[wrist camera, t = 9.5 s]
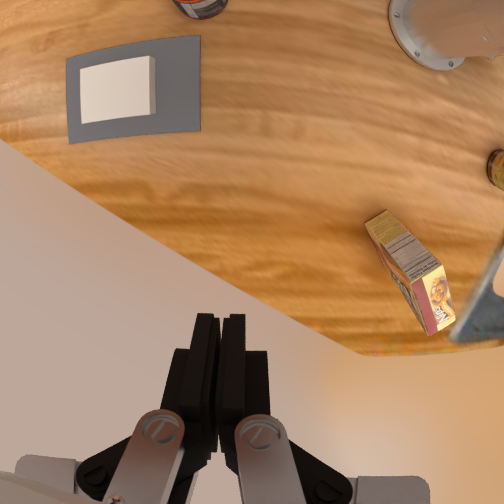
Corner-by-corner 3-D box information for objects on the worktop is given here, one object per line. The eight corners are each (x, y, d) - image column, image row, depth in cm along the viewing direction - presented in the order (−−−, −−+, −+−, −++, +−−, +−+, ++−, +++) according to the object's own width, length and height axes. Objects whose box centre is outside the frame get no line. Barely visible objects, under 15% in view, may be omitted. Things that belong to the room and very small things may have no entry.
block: (149, 55, 28) (80, 69, 28) (149, 114, 31) (81, 123, 31) (155, 58, 30) (89, 70, 30) (156, 113, 33) (90, 122, 33)
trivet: (200, 35, 29) (199, 34, 29) (200, 130, 35) (199, 131, 34) (68, 59, 29) (66, 58, 29) (70, 143, 35) (69, 144, 34)
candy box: (407, 256, 42) (458, 319, 29) (384, 270, 43) (428, 339, 30) (387, 207, 39) (444, 262, 25) (361, 223, 40) (409, 285, 26)
